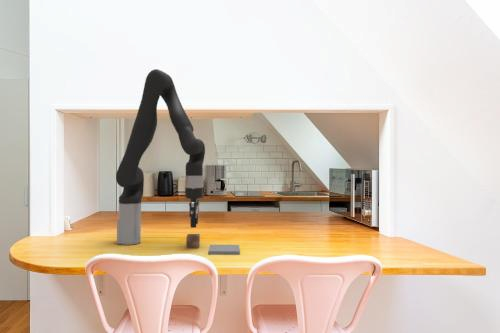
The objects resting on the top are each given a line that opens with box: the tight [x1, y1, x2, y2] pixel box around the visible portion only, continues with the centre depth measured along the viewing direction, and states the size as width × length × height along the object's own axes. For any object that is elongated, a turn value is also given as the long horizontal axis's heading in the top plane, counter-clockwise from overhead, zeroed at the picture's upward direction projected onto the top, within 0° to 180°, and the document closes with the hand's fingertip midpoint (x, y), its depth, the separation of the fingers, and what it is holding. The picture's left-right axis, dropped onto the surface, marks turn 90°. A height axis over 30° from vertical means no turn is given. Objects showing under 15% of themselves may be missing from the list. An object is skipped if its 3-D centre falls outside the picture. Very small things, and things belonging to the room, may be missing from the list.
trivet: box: [208, 244, 241, 255], centre depth 154 cm, size 12×12×1 cm
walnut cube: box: [185, 233, 201, 249], centre depth 160 cm, size 5×5×5 cm
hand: (194, 225), depth 160 cm, fingers open, 8 cm apart
